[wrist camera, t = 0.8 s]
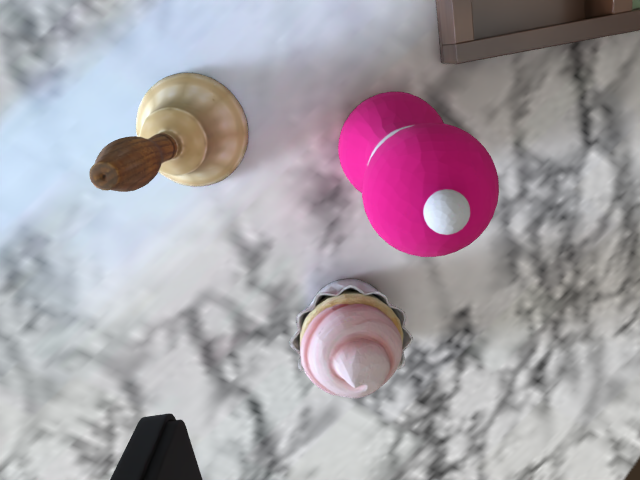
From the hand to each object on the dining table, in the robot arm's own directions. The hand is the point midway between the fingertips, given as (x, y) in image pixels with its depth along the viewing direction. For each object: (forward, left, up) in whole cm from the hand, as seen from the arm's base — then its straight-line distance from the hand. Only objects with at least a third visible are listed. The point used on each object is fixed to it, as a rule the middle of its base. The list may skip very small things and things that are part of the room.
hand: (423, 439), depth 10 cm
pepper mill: (-1, +3, -30) cm, 30 cm away
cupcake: (+13, -2, -30) cm, 33 cm away
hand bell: (-4, -11, -30) cm, 32 cm away
